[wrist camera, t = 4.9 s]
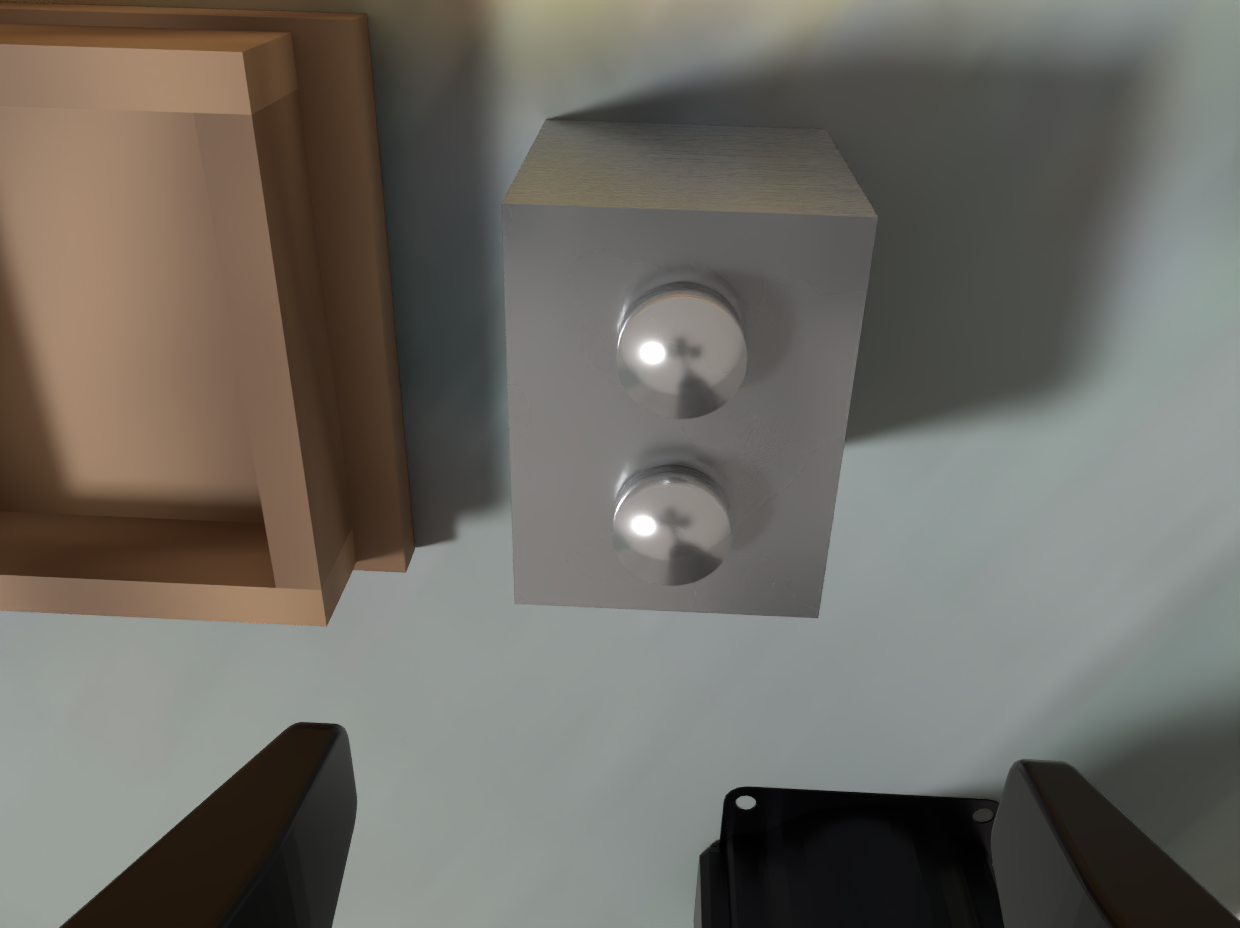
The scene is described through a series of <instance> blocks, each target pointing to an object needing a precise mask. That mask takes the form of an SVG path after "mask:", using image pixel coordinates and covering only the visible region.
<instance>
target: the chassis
mask: <svg viewBox="0 0 1240 928" xmlns="http://www.w3.org/2000/svg"><path fill="white" fill-rule="evenodd" d="M414 550H415V546H414V535H413V524H412V513H411V501H410V490H409V479H408V468H407V457H406V446H405V434H404V423H403V412H402V401H401V390H400V378H399V367H398V356H397V345H396V334H395V322H394V311H393V300H392V289H391V278H390V267H389V255H388V244H387V233H386V222H385V211H384V199H383V188H382V177H381V166H380V155H379V143H378V132H377V121H376V110H375V99H374V87H373V76H372V65H371V54H370V43H369V32H368V20H367V14H360V13H329V12H298V11H266V10H235V9H204V8H172V7H141V6H110V5H79V4H47V3H16V2H0V611H20V612H41V613H61V614H82V615H102V616H123V617H143V618H164V619H185V620H205V621H226V622H246V623H267V624H287V625H308V626H327V625H328V622H329V620H330V618H331V616H332V614H333V612H334V610H335V607H336V605H337V603H338V601H339V599H340V597H341V594H342V592H343V590H344V588H345V586H346V584H347V582H348V579H349V577H350V575H351V573H352V571H353V570H364V571H385V572H406V571H407V568H408V566H409V563H410V560H411V558H412V555H413V553H414Z"/></svg>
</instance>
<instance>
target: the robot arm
mask: <svg viewBox="0 0 1240 928" xmlns="http://www.w3.org/2000/svg"><path fill="white" fill-rule="evenodd" d="M746 795H747V796H751V797H753V798H754V799H755V800H756V805H755V806H754V807H753V808H751V809H747V810H743V809H739V808H738V807H736V806H735V803H734V802H735V800H736V799H737V798H739V797H740V796H746ZM982 808H988V809H991V810H992V811H993V812H994V817H993V818H992V819H991V820H989V821H987V822H977V821H975V820H974V819H973V818H972V815H973V813H974V812H975V811H977V810H979V809H982ZM356 810H357V793H356V786H355V779H354V772H353V765H352V758H351V751H350V744H349V738H348V734H347V732H346V730H345V728H344V727H342V726H341V725H338V724H329V723H309V722H299V723H295V724H293V725H291V726H289V727H288V728H287V729H286V730H284V731H283V732H282V733H281V734H280V735H279V736H278V737H276V738H275V739H274V740H273V741H272V742H271V743H270V744H268V745H267V746H266V747H265V748H264V749H263V750H262V751H260V752H259V753H258V754H257V755H256V756H255V757H254V758H252V759H251V760H250V761H249V762H248V763H247V764H246V765H244V766H243V767H242V768H241V769H240V770H239V771H238V772H236V773H235V774H234V775H233V776H232V777H231V778H230V779H228V780H227V781H226V782H225V783H224V784H223V785H222V786H220V787H219V788H218V789H217V790H216V791H215V792H214V793H212V794H211V795H210V796H209V797H208V798H207V799H206V800H204V801H203V802H202V803H201V804H200V805H199V806H198V807H196V808H195V809H194V810H193V811H192V812H191V813H190V814H188V815H187V816H186V817H185V818H184V819H183V820H182V821H180V822H179V823H178V824H177V825H176V826H175V827H174V828H172V829H171V830H170V831H169V832H168V833H167V834H166V835H164V836H163V837H162V838H161V839H160V840H159V841H158V842H156V843H155V844H154V845H153V846H152V847H151V848H150V849H148V850H147V851H146V852H145V853H144V854H143V855H142V856H140V857H139V858H138V859H137V860H136V861H135V862H134V863H132V864H131V865H130V866H129V867H128V868H127V869H126V870H124V871H123V872H122V873H121V874H120V875H119V876H118V877H116V878H115V879H114V880H113V881H112V882H111V883H110V884H108V885H107V886H106V887H105V888H104V889H103V890H102V891H100V892H99V893H98V894H97V895H96V896H95V897H94V898H92V899H91V900H90V901H89V902H88V903H87V904H86V905H84V906H83V907H82V908H81V909H80V910H79V911H78V912H76V913H75V914H74V915H73V916H72V917H71V918H70V919H68V920H67V921H66V922H65V923H64V924H63V925H62V926H60V927H59V928H332V924H333V919H334V915H335V910H336V906H337V901H338V897H339V892H340V888H341V883H342V879H343V874H344V870H345V865H346V861H347V856H348V852H349V847H350V843H351V838H352V834H353V829H354V825H355V819H356ZM992 862H993V867H994V870H993V867H992ZM994 873H995V874H994ZM694 928H1240V920H1239V919H1238V918H1237V917H1235V916H1234V915H1233V914H1232V913H1231V912H1230V911H1229V910H1228V909H1227V908H1226V907H1225V906H1224V905H1223V904H1221V903H1220V902H1219V901H1218V900H1217V899H1216V898H1215V897H1214V896H1213V895H1212V894H1211V893H1210V892H1208V891H1207V890H1206V889H1205V888H1204V887H1203V886H1202V885H1201V884H1200V883H1199V882H1198V881H1197V880H1196V879H1194V878H1193V877H1192V876H1191V875H1190V874H1189V873H1188V872H1187V871H1186V870H1185V869H1184V868H1183V867H1181V866H1180V865H1179V864H1178V863H1177V862H1176V861H1175V860H1174V859H1173V858H1172V857H1171V856H1170V855H1169V854H1167V853H1166V852H1165V851H1164V850H1163V849H1162V848H1161V847H1160V846H1159V845H1158V844H1157V843H1156V842H1154V841H1153V840H1152V839H1151V838H1150V837H1149V836H1148V835H1147V834H1146V833H1145V832H1144V831H1143V830H1142V829H1140V828H1139V827H1138V826H1137V825H1136V824H1135V823H1134V822H1133V821H1132V820H1131V819H1130V818H1129V817H1128V816H1126V815H1125V814H1124V813H1123V812H1122V811H1121V810H1120V809H1119V808H1118V807H1117V806H1116V805H1115V804H1113V803H1112V802H1111V801H1110V800H1109V799H1108V798H1107V797H1106V796H1105V795H1104V794H1103V793H1102V792H1101V791H1099V790H1098V789H1097V788H1096V787H1095V786H1094V785H1093V784H1092V783H1091V782H1090V781H1089V780H1088V779H1086V778H1085V777H1084V776H1083V775H1082V774H1081V773H1080V772H1079V771H1078V770H1077V769H1075V768H1074V767H1073V766H1071V765H1070V764H1068V763H1065V762H1062V761H1050V760H1031V759H1022V760H1018V761H1016V762H1015V763H1014V764H1013V765H1012V766H1011V768H1010V770H1009V773H1008V776H1007V779H1006V783H1005V786H1004V790H1003V793H1002V797H1001V800H1000V803H998V802H996V801H993V800H988V799H972V798H953V797H933V796H914V795H895V794H876V793H857V792H838V791H819V790H800V789H781V788H762V787H739V788H736V789H734V790H731V791H730V792H729V793H728V794H727V795H726V797H725V799H724V804H723V814H722V823H721V833H720V843H719V848H715V847H708V848H707V849H706V850H705V851H704V852H703V853H702V854H701V855H700V856H699V867H698V877H697V888H696V899H695V910H694Z"/></svg>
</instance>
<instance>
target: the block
mask: <svg viewBox="0 0 1240 928" xmlns="http://www.w3.org/2000/svg"><path fill="white" fill-rule="evenodd" d="M501 205H502V235H503V266H504V296H505V326H506V356H507V387H508V417H509V447H510V478H511V508H512V538H513V569H514V599H515V604H533V605H554V606H575V607H596V608H617V609H638V610H659V611H680V612H701V613H722V614H743V615H764V616H785V617H806V618H818V615H819V609H820V602H821V595H822V589H823V582H824V575H825V569H826V562H827V555H828V549H829V542H830V535H831V529H832V522H833V515H834V509H835V502H836V495H837V489H838V482H839V475H840V469H841V462H842V455H843V449H844V442H845V435H846V429H847V422H848V415H849V409H850V402H851V395H852V389H853V382H854V375H855V369H856V362H857V355H858V349H859V342H860V335H861V329H862V322H863V316H864V309H865V302H866V296H867V289H868V282H869V276H870V269H871V262H872V256H873V249H874V242H875V236H876V229H877V222H878V216H877V214H876V213H875V211H874V209H873V208H872V206H871V204H870V203H869V201H868V199H867V198H866V196H865V194H864V193H863V191H862V189H861V188H860V186H859V184H858V182H857V181H856V179H855V177H854V176H853V174H852V172H851V171H850V169H849V167H848V166H847V164H846V162H845V161H844V159H843V157H842V156H841V154H840V152H839V151H838V149H837V147H836V146H835V144H834V142H833V141H832V139H831V137H830V136H829V134H828V132H827V131H826V129H804V128H775V127H746V126H717V125H688V124H659V123H630V122H601V121H572V120H545V122H544V124H543V126H542V127H541V129H540V131H539V133H538V135H537V137H536V139H535V141H534V143H533V145H532V146H531V148H530V150H529V152H528V154H527V156H526V158H525V160H524V162H523V163H522V165H521V167H520V169H519V171H518V173H517V175H516V177H515V179H514V181H513V182H512V184H511V186H510V188H509V190H508V192H507V194H506V196H505V198H504V199H503V201H502V203H501Z"/></svg>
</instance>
